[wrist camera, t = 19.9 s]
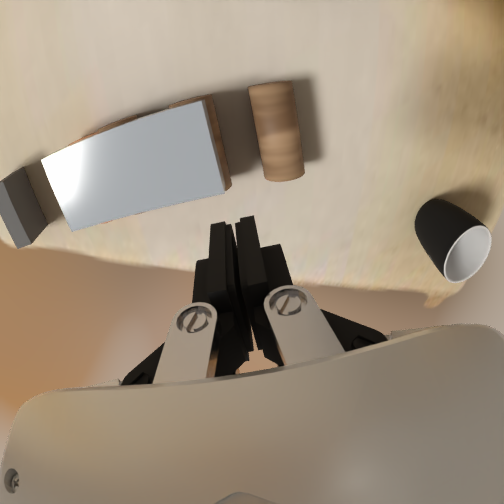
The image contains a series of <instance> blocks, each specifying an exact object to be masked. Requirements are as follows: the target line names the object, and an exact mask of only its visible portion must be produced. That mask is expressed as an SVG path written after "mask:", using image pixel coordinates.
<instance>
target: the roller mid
mask: <svg viewBox="0 0 504 504" xmlns="http://www.w3.org/2000/svg"><path fill="white" fill-rule="evenodd" d="M202 99H205V103H206V108H207V112H208V116H209V120H210V124H211V128H212V132H213V136H214V140H215V144H216V148H217V152H218V156H219V160H220V164H221V168H222V173H223V177H224V181H225V185H226V186H225V191H226V190H228V189H229V188H230V187H231V186H232V182H231V178H230V174H229V169H228V165H227V160H226V156H225V151H224V147H223V143H222V138H221V134H220V129H219V125H218V120H217V116H216V112H215V107H214V103H213V98H212V94H209V95H204V96H199V97H195V98H191V99H187V100H183V101H180V102H177V103H174V104H171V105H169V108H172V107H176V106H180V105H183V104H187V103H191V102H195V101H198V100H202Z"/></svg>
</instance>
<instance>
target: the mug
mask: <svg viewBox="0 0 504 504" xmlns="http://www.w3.org/2000/svg"><path fill="white" fill-rule="evenodd" d="M415 231H416V234H417V237H418V239H419V241H420V243H421V244H422V246H423V248H424V249H425V251H426V253H427V254H428V256H429V257H430V259H431V260H432V261H433V263H434V264H435V266H436V267H437V268H438V270H439V271H440V272H441V274H442V275H443V276H444V277H445V278H446V279H447V280H448V281H449V282H452V283H459V282H462V281H465V280H467V279H468V278H470V277H471V276H473V275H474V274H475V273H476V272H477V271H478V270H479V269H480V268H481V266H482V265H483V263H484V262H485V260H486V258H487V256H488V254H489V251H490V248H491V233H490V231H489V229H488V228H487V227H486V226H485V225H484V224H483V223H481V222H480V221H479V220H478V219H476V218H475V217H474V216H472V215H471V214H469V213H468V212H466V211H465V210H463V209H461V208H460V207H458V206H456V205H454V204H452V203H450V202H447V201H444V200H439V199H435V200H431V201H429V202H427V203H425V204H424V205H423V206H422V207H421V208H420V210H419V211H418V213H417V216H416V219H415Z"/></svg>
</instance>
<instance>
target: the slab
mask: <svg viewBox="0 0 504 504" xmlns="http://www.w3.org/2000/svg"><path fill="white" fill-rule="evenodd" d="M41 161H42V163H43V166H44V169H45V171H46V174H47V177H48V179H49V182H50V184H51V186H52V189H53V191H54V194H55V196H56V198H57V201H58V203H59V205H60V207H61V210H62V212H63V214H64V216H65V218H66V221H67V223H68V225H69V227H70V229H71V231H72V232H73V231H76V230H80V229H83V228H86V227H90V226H93V225H97V224H101V223H104V222H108V221H111V220H115V219H119V218H123V217H126V216H130V215H134V214H138V213H142V212H146V211H150V210H154V209H158V208H162V207H166V206H171V205H175V204H179V203H184V202H188V201H192V200H197V199H201V198H206V197H211V196H215V195H220V194H225V186H226V185H225V181H224V177H223V173H222V168H221V164H220V160H219V156H218V152H217V148H216V144H215V140H214V136H213V132H212V128H211V124H210V120H209V116H208V112H207V108H206V103H205V99H202V100H198V101H195V102H191V103H187V104H183V105H180V106H176V107H172V108H169V109H166V110H162V111H159V112H156V113H153V114H150V115H146V116H143V117H140V118H138V119H135V120H132V121H129V122H126V123H123V124H121V125H118V126H116V127H113V128H111V129H108V130H105V131H103V132H100V133H97V134H95V135H92V136H90V137H87V138H85V139H83V140H80V141H78V142H76V143H74V144H71V145H69V146H67V147H65V148H63V149H61V150H58V151H56V152H54V153H52V154H50V155H49V156H47V157H45V158H44V159H42V160H41Z"/></svg>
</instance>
